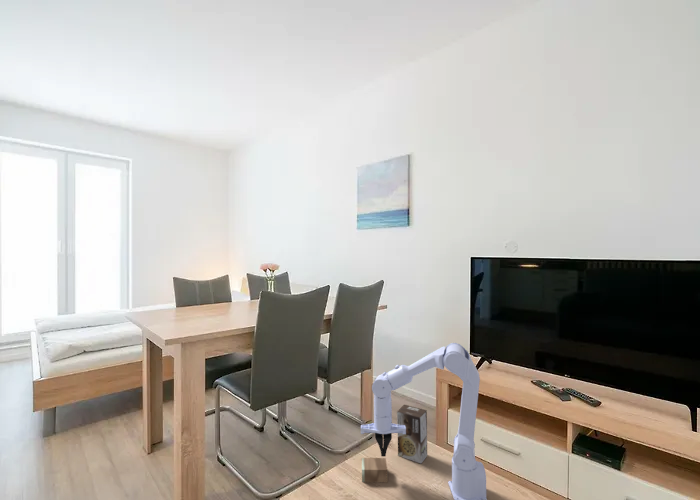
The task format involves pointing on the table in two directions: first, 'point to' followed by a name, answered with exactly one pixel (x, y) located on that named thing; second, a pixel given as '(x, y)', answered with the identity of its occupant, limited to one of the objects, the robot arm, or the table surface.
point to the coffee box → (412, 433)
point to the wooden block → (374, 470)
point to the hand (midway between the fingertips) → (383, 454)
